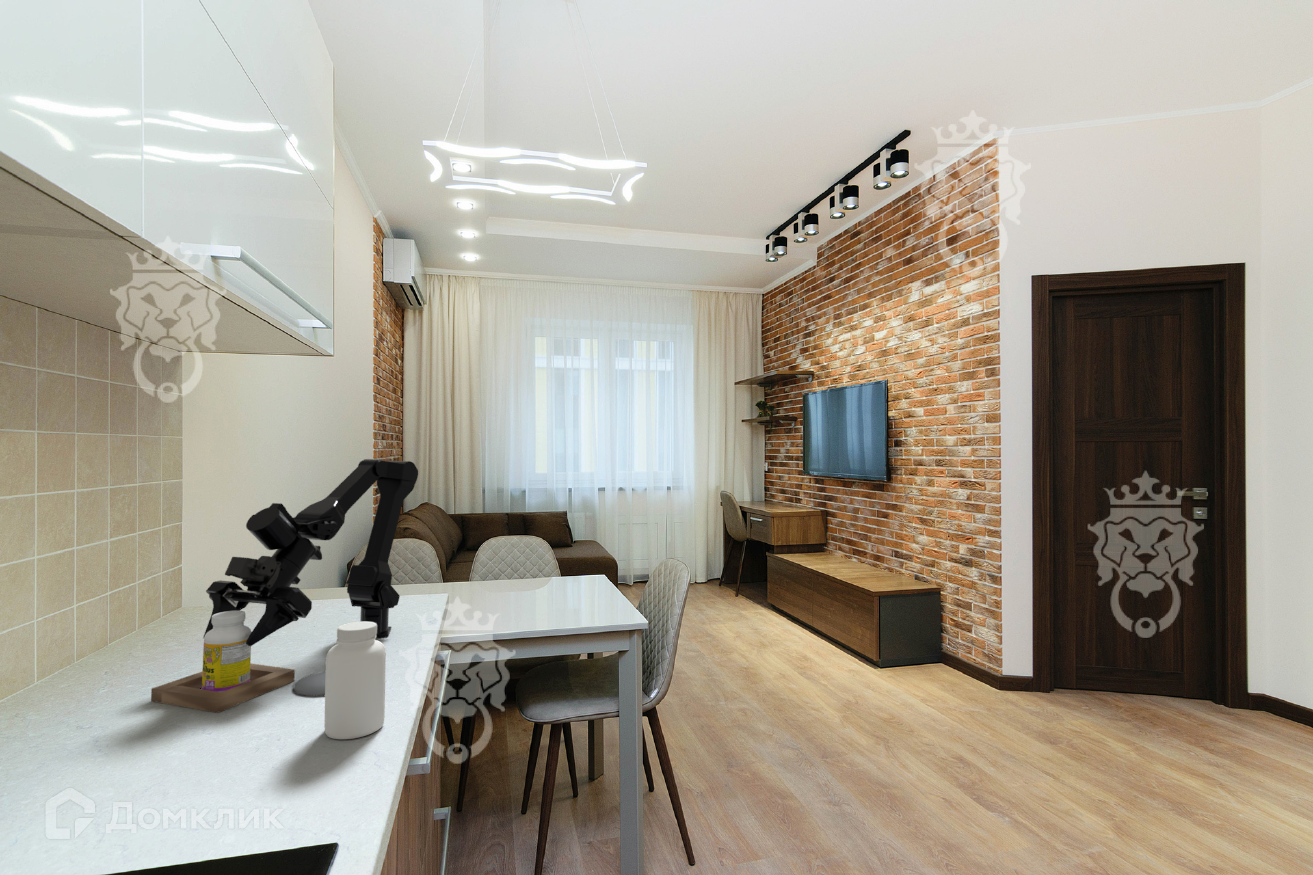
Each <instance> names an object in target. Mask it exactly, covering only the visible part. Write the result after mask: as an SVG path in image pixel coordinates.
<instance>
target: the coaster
mask: <svg viewBox="0 0 1313 875" xmlns="http://www.w3.org/2000/svg"><path fill="white" fill-rule="evenodd" d="M325 677H326V670H324V671H320V672H315V673H312V674H309V675H306V676H304V677H302V678H300V679H298V680H297V681H296V682H295V683H294V684H293V691H294V693H296V694H297V693H298V694H297V695H300V696H304V695H306V697H324V696H323V695H325Z"/></svg>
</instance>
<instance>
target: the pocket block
mask: <svg viewBox="0 0 1313 875" xmlns="http://www.w3.org/2000/svg"><path fill="white" fill-rule="evenodd" d="M295 672H296V670H295V669H294V668H287V667H279V666H273V665H272V666H271V665H265V664H257V663H251V662H250V681H249V682H247V683H244V684H242V685H239V686H236V687H234V688H231V689H229V690H226V691H223V692H216V691H209V690H203V689H202V671H199V672H197V673H194V674H190V675H188V676H185V677H181V678H179V679H178V678H177V679H176V680H173V681H170V682H166V683H164V684H161V685H159V686H154V687H152V688H151V691H150V692H151V693H150V694H151V695H150V696H151V697H150V702H154V703H159V704H160V703H161V704H164V705H172V706H177V707H183V708H189V709H195V710H201V711H206V712H212V713H221V712H222V711H225V710H228V709H230V708H233V707H235V706H237V705H239V704H242V703H244V702H247V701H249V700H252V699H255V698H257V697H259V696H261V695H265V694H266V693H268V692H271V691H273V690H276V689H279V688H281V687H283V686H285V685H288V684H291V683H293V682H294V681H295ZM200 688H201V689H200Z"/></svg>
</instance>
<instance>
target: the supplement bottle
mask: <svg viewBox="0 0 1313 875" xmlns="http://www.w3.org/2000/svg"><path fill="white" fill-rule="evenodd" d="M245 620H246V611H244V610H240V611H226V612H221V613H217V614H214V615H213V616H212V622H211V623H212V625H213V629H212V630H210V631H209V632H207V633H206V635H205V637H204V636H203V637H204V638H203V652H202V653H203V654H202V671H201V672H202V688H201V689H203V690H209V691H216V692H223V691H226V690H229V689H231V688H234V687H236V686H239V685H242V684H244V683H247V682H249V681H250V663H251V661H252V660H251V656H252V646H248V645H247V644H246V641H247V639H248V637H249V635H250V634H251V632H252V630H251V628H250V627H249V626H247V625H244V624H245V623H244V622H245Z"/></svg>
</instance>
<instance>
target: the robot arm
mask: <svg viewBox="0 0 1313 875" xmlns="http://www.w3.org/2000/svg"><path fill="white" fill-rule="evenodd" d="M418 476H419V469H418V468H417V467H416V464H415V463H414V462H413V461H410V460H383V459H379V458H378V459H377V458H374V459H373V458H365V459H363V460H361V461H359V463H358V465H357V467H356V468H355V469H354V470H353V471H352V472H351V473H350V474H349V475H348V476H346V478H344V480H342V481H341V482H340V483H339V484H338V485H337V486H336V487H335V488H334V490H333V491H331V492H330V493H329V494H328V495H327V496H326V497H324V498H323V499H321V500H318V501H317V502H314V503H311V504H309V505H307V507H305V508H304V509H302V510H300V511H299V512H298V513H297V514H296V515H295V516H294V517H293V516H292V515H291V514H290V513H289V511H287V508H286V507H285V505H284V504H283V503H279V502H278V503H275V502H273V503H271V504H270V506H269V507H266V508H263V509H261V510H259V511H258V512H256V513H255V514H251V516H250V517H249V518H248V520H247V521H246V525H245V527H246V529H247V530H248V531H249V532H250V533H251V534H252V535H253V537H254V538H255V539H256V540H257V541H259V543H260V544H261V545H262V546H263V547H264V548H266V550H268V551H274V553H273V554H272V556H269V555H261V556H260V557H259V558H258V559H257V558H252V557H241V556H232V557H231V559H230V561H229V563H228V566H227V567H226V570H225V573H224V575H225V576H227V577H231V576H232V577H234V578H237V579H240V584H241V585H242V586H244V587H246V590H244V589H243V587H241V586H240V585H239V584H238V583H237V582H235V581H230V580H222V579H221V580H216V581H215V580H214V581H213V582H212V583H211V585H209V586H208V588H207V589H206V590H205V592H206V593H207V594H208V598H209V599H210V600H211V601H212V604H213V605H212V606H213V608H212V611H211V614H210V618H209V621H208V623H207V626H206V628H205V631H204V634H203V639H204V637H205V635H206V633H207V632H209V631H210V630H212V629H213V625H212V623H211V622H212V616H213V615H214V614H217V613H221V612H226V611H242V610H243V609H245V608H246V607H247V606H248V605H249V604H250V603H251V604H259V605H260V604H262V605H265V611H264V613H263V614H262V616H261V617H260V620H259V621H258V622H257V624H256V625H255V626H254V628H253V630H251V634H250V635H249V637H248V639H247V641H246V644H247V645H248V646H251V647H252V646H254V645H255V644H257V643H258V642H261V641H262V640H264V639H265V638H266V637H269V636H270V635H271V634H273V633H274V632H276V631H278V630H280V629H282V628H284V627H286V626H287V625H288V624H291V623H293V622H297V621H299V619H301V618H303V619H306V618H307V616H308V615H309V614H310V612H311V610H313V609H312V608H313V606H312V605H313V604H312V603H313V601H312V600H311V599H310V598H309V597H308V596H307V594H305V593H304V592H303V591H302V590H301V589H300V588H299V587H297V586H296V587H293V586H292V585H298V584H299V583H300V581H301V578H299V577H298V576H299V575H300V573H301V572H302V570H304V568H305V566H306V565H307V564H308V562H310V560H313V561H321V560H322V559H323V554H322V551H321V549H322V547H321V546H320V545H315V544H314V543H313V541H315V540H316V541H331V540H333V539H334V538H335V537H336V535H337V534H338V533H339V532H340V530H341V529H342V527H343V525H344V524H345V520H346V519H345V518H346V514H347V513H348V511H349V510H350V509H351V508H352V507H354V505H355V504H356V503H357V502H358V501H359V500H360V499H361V498H362V496H363V495H365V494H366V492H367V491H368V490H369V489H370V488H371V487H373V485H374V484H375V483H376V487H377V489H378V493H379V495H380V496H379V500H378V505H377V509H376V512H375V515H374V520H373V524H372V528H371V530H370V531H371V532H370V535H369V540H368V542H367V547H366V550H365V554H364V558H363V559H362V560H361V562H360V563H359V564H356V565H355V564H352V566H351V567H350V569H349V570H350V571H349V576H348V578H347V580H346V583H345V584H346V585H347V588H346V593H347V594H348V597H349V600H350V604H351V606H352V607H358V608H360V620H359V622H362V621H368V622H374V623H376V624H377V634H376V638H379V637H380V638H382V637H388V636H390V633H391V630H392V626H389V613H390V610H389V609H393V608H395V607H397V606H398V605H399V601H400V597H401V596H400V594H399V593H398V592H397V591H396V589H395V588H394V587H393V586H392V579H393V573H392V571H391V567H390V564H389V559H390V555H391V552H392V546H393V543H394V539H395V534H396V531H397V527H398V523H399V519H400V515H401V510H402V506H403V503H404V500H405V499H406V498H407V497H408V496H409V495H410V494H411V493H412V492H413V491H414V488H415V485H416V483H417V480H418ZM311 540H313V541H311Z"/></svg>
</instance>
